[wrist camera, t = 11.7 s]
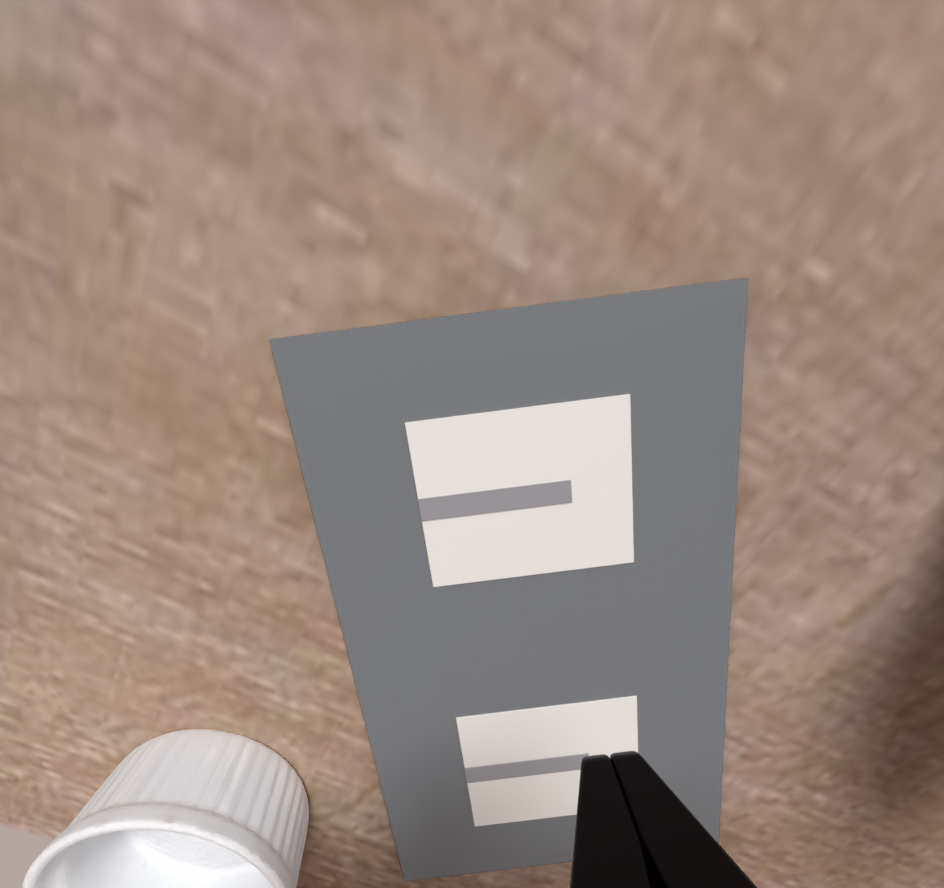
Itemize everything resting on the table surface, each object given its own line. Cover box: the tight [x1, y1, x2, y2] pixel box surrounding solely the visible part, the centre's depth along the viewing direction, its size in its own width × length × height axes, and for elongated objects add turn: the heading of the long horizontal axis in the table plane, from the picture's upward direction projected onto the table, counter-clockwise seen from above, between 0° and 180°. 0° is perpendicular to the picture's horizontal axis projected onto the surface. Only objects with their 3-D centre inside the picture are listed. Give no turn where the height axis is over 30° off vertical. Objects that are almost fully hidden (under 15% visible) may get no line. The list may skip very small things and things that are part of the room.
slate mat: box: [269, 278, 748, 881], centre depth 19 cm, size 14×24×1 cm, turn 7°
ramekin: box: [22, 729, 309, 888], centre depth 19 cm, size 9×9×4 cm
